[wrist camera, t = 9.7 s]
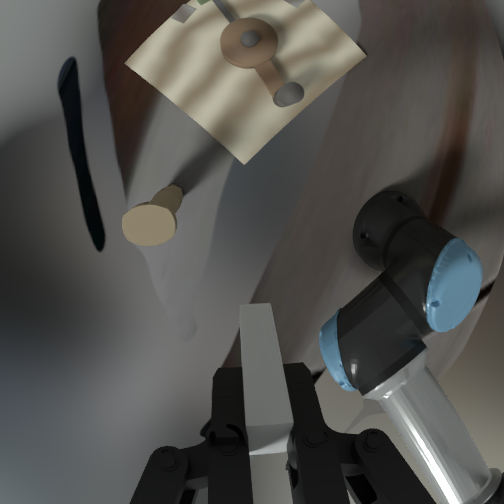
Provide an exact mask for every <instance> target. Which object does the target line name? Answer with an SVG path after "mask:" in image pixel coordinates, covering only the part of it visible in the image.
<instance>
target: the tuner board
mask: <svg viewBox="0 0 504 504" xmlns="http://www.w3.org/2000/svg"><path fill="white" fill-rule="evenodd" d="M221 2H222V3H223V4H224V6H225V7H226V8H227V9H228V11H229V12H230V13H231V15H232V16H233V17H234V19H235V20H237V19H241V18H257V19H260V20H263V21H265V22H267V23H268V24H270V25H271V26H272V27H273V29H274V30H275V31H276V33H277V36H278V47H277V50H276V52H275V53H274V55H273V57H272V58H271V59H270V61H271V62H272V64H273V65H274V67H275V69H276V70H277V72H278V73H279V75H280V77H281V78H282V80H283V82H284V83H285V84H286V83H288V82H296V83H298V84H300V85H301V86H302V87H303V89H304V98H303V99H302V100H301V101H300V102H298V103H295V104H292V105H290V106H287V107H278V106H276V105H275V104H274V102H273V98H272V96H271V94H270V93H269V91H268V89H267V88H266V86H265V85H264V83H263V81H262V80H261V78H260V77H259V75H258V73H257V72H256V70H255V69H254V68H253V69H244V68H239V67H237V66H234V65H232V64H231V63H229V62H228V61H227V60H226V59H225V57H224V56H223V54H222V51H221V45H220V37H221V34H222V32H223V30H224V28H225V27H226V26H227V25H228V24H230V23H229V22H228V20H227V19H226V18H225V16H224V15H223V14H222V12H221V11H220V10H219V9H218V7H217V6H216V5H215V3H214V2H213V1H212V0H191V1H189V2H188V3H187V4H186V5H185V4H183V5H182V6H181V7H180V8H179V9H178V10H177V12H176V13H175V14H174V15H173V16H171V17H170V18H169V19H168V20H167V21H166V22H165V23H164V24H162V25H161V26H160V27H159V28H158V29H157V30H156V31H155V32H154V33H153V34H152V35H151V36H150V37H149V38H148V39H147V40H146V41H145V42H144V43H143V44H142V45H141V46H140V47H139V48H138V49H137V50H136V51H135V53H134V54H133V55H132V56H131V57H130V58H129V59H128V60H127V61H126V63H125V64H126V65H127V66H129V67H130V68H131V69H132V70H134V71H135V72H136V73H138V74H139V75H140V76H141V77H143V78H144V79H145V80H147V81H148V82H149V83H150V84H152V85H153V86H154V87H155V88H157V89H158V90H159V91H160V92H162V93H163V94H164V95H165V96H166V97H168V98H169V99H170V100H171V101H172V102H174V103H175V104H176V105H177V106H178V107H180V108H181V109H182V110H183V111H184V112H186V113H187V114H188V115H189V116H190V117H191V118H193V119H194V120H195V121H196V122H197V123H198V124H199V125H201V126H202V127H203V128H204V129H205V130H206V131H207V132H209V133H210V134H211V135H212V136H213V137H214V138H215V139H216V140H218V141H219V142H220V143H221V144H222V145H223V146H224V147H225V148H226V149H228V150H229V151H230V152H231V153H232V154H233V155H234V156H235V157H236V158H237V159H238V160H240V161H241V162H242V163H243V164H244V165H245V164H246V163H247V162H248V161H249V160H250V159H251V158H252V157H253V156H254V155H255V154H256V153H257V152H258V151H259V150H260V149H261V148H262V147H263V146H264V145H265V144H266V143H267V142H268V141H269V140H270V139H272V137H274V136H275V135H276V134H277V133H278V132H279V131H280V130H281V129H282V128H283V127H284V126H285V125H286V124H288V122H290V121H291V120H292V119H293V118H294V117H295V116H296V115H297V114H299V112H301V111H302V110H303V109H304V108H305V107H306V106H307V105H308V104H310V103H311V102H312V101H313V100H314V99H315V98H316V97H318V96H319V95H320V94H321V93H322V92H323V91H325V90H326V89H327V88H328V87H329V86H331V85H332V84H333V83H334V82H335V81H337V80H338V79H339V78H340V77H341V76H343V75H344V74H345V73H346V72H348V71H349V70H350V69H351V68H352V67H354V66H355V65H356V64H357V63H359V62H360V61H361V60H363V59H364V58H365V57H366V55H365V53H364V52H363V51H362V50H361V49H360V48H359V47H358V46H357V45H356V43H355V42H354V41H352V39H351V38H350V37H349V36H348V35H347V34H346V33H345V32H344V31H343V30H342V29H341V28H340V27H339V26H338V25H337V24H336V23H335V22H334V21H333V20H332V19H331V18H330V17H328V16H327V15H326V14H325V13H324V12H323V11H322V10H321V9H319V8H318V7H317V6H316V5H315V4H314V3H313V2H311V1H310V0H221Z"/></svg>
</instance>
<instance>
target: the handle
mask: <svg viewBox="0 0 504 504" xmlns="http://www.w3.org/2000/svg"><path fill="white" fill-rule="evenodd" d="M182 199H183V195H182V188H181V187H177V186H175V184H171V185H169V186H167V187H165V188H163V189H161V190H160V191H159V192H158V193H157V194H156V195H155V196H154V197H153V199H152V200H151V201H150V202H145V203H141V204H138V205H136V206H135V207H133V208H132V209H131V210H129V211H128V212H127V213H125V214H124V216H123V219H122V228H123V232H124V234H125V236H126V238H127V239H128V240H129V241H130V242H132V243H135V244H138V245H141V246H154V245H160V244H162V243H164V242H166V241H168V240H169V239H171V238H172V237H173V236H174V234H175V232H176V228H177V219H176V215H175V213H176V212H177V210H178V209H179V207H180V205H181V202H182Z"/></svg>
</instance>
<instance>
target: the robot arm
mask: <svg viewBox="0 0 504 504" xmlns="http://www.w3.org/2000/svg"><path fill="white" fill-rule="evenodd" d="M353 243H354V246H355V249H356V251H357V253H358V255H359V256H360V257H361V258H362V259H363V261H364V262H365V263H366V264H368V265H369V266H371V267H372V268H375V269H377V270H380V271H383V272H382V273H381V274H380V275H379V276H378V277H377V278H376V279H375V280H374V281H372V282H371V283H370V284H369V285H368V286H367V287H366V288H365V289H364V290H362V291H361V292H360V293H359V294H358V295H357V296H356V297H355V298H353V299H352V300H351V301H350V302H349V303H348V304H346V305H345V306H344V307H343V308H340V309H339V310H338V311H337V312H336V314H335V315H334V316H333V317H332V318H330V319H329V320H328V321H327V322H326V323H325V324H324V325H323V326H322V328H321V330H320V335H319V345H320V350H321V353H322V356H323V359H324V362H325V364H326V366H327V368H328V370H329V372H330V374H331V375H332V377H333V378H334V380H335V381H336V382H339V384H340V386H341V387H342V388H343V389H345V390H347V391H355V390H357V389H358V390H359V391H360V393H361V395H362V396H363V397H364V398H368V399H375V400H377V401H379V403H380V404H381V406H382V407H383V409H384V411H385V412H386V414H387V415H388V417H389V418H390V420H391V422H392V423H393V425H394V426H395V428H396V429H397V431H398V433H399V434H400V436H401V437H402V439H403V441H404V442H405V444H406V445H407V447H408V449H409V450H410V452H411V453H412V455H413V457H414V458H415V460H416V462H417V463H418V465H419V466H420V468H421V470H422V471H423V473H424V475H425V476H426V478H427V480H428V481H429V483H430V485H431V486H432V488H433V490H434V491H435V493H436V495H437V497H438V498H439V500H440V502H441V504H504V472H503V473H502V474H501V471H500V470H499V469H497V468H489V469H488V468H487V466H486V464H485V462H484V460H483V458H482V456H481V454H480V452H479V450H478V448H477V446H476V445H475V443H474V441H473V439H472V437H471V436H470V434H469V432H468V430H467V428H466V427H465V425H464V423H463V422H462V420H461V418H460V417H459V415H458V413H457V412H456V410H455V408H454V407H453V405H452V403H451V402H450V400H449V399H448V397H447V395H446V394H445V392H444V391H443V389H442V388H441V386H440V385H439V383H438V381H437V380H436V378H435V377H434V375H433V374H432V372H431V371H430V369H429V368H428V367H427V364H426V358H427V352H428V348H427V346H426V345H425V344H424V342H423V341H422V338H423V337H424V336H425V335H426V334H427V333H428V332H429V331H430V330H432V329H433V330H436V331H438V332H446V331H449V329H450V328H451V329H452V328H454V327H456V326H457V325H458V324H459V323H460V322H462V320H463V319H464V318H465V317H466V316H467V315H468V313H469V312H470V310H471V309H472V307H473V305H474V303H475V301H476V299H477V297H478V294H479V291H480V287H481V284H482V277H483V270H482V264H481V261H480V258H479V256H478V255H477V254H476V252H475V251H473V250H472V249H471V248H470V247H469V246H467V245H466V243H465V242H464V241H463V240H462V239H460V238H457V237H456V236H454V235H453V234H451V233H450V232H448V231H446V230H445V229H443V228H442V227H440V226H439V225H437V224H435V223H434V222H432V221H430V220H429V219H427V217H426V216H425V214H424V213H423V211H422V210H421V208H420V207H419V205H418V204H417V203H416V202H415V201H414V200H413V199H412V198H410V197H409V196H407V195H405V194H403V193H400V192H397V191H387V192H383V193H380V194H378V195H376V196H374V197H373V198H371V199H370V200H369V201H368V202H367V203H366V204H365V205H364V206H363V208H362V209H361V210H360V212H359V214H358V216H357V218H356V221H355V224H354V228H353ZM239 307H240V332H241V354H242V367H236V368H218V369H217V371H216V373H215V375H214V376H213V390H212V415H211V426H210V428H209V429H208V430H207V432H206V436H205V438H206V440H205V441H204V442H202V443H201V444H198V445H196V446H192V447H188V448H184V449H178V448H176V447H172V446H165V447H160V448H158V449H156V450H155V451H154V452H153V453H152V455H151V456H150V458H149V460H148V463H147V465H146V467H145V470H144V472H143V474H142V476H141V479H140V481H139V483H138V486H137V488H136V490H135V492H134V495H133V497H132V499H131V502H130V504H195V501H196V498H197V495H198V492H199V489H202V488H206V487H208V504H253V494H252V482H251V470H250V457H249V455H255V454H269V453H279V452H286V450H287V453H288V461H287V464H286V470H288V473H289V479H290V485H291V492H292V499H293V504H350V501H349V496H348V492H347V490H348V491H349V493H350V495H351V496H352V498H353V500H354V502H355V503H356V504H436V502H435V501H434V500H433V498H432V497H431V495H430V494H429V493H428V491H427V490H426V488H425V487H424V486H423V485H422V483H421V482H420V480H419V479H418V477H417V476H416V475H415V474H414V472H413V470H412V469H411V468H410V466H409V465H408V464H407V462H406V461H405V459H404V458H403V457H402V455H401V454H400V452H399V451H398V450H397V448H396V447H395V445H394V444H393V443H392V441H391V440H390V439H389V437H388V436H387V435H386V434H385V433H384V432H383V431H381V430H379V429H367V430H364V431H362V432H361V433H360V434H347V433H339V432H336V431H334V430H332V429H331V428H329V427H328V426H327V425H326V423H325V422H324V419H323V416H322V412H321V408H320V404H319V401H318V397H317V394H316V391H315V386H314V383H313V379H312V376H311V372H310V370H309V369H308V368H307V367H306V365H305V364H304V363H303V362H301V363H291V364H282V359H281V354H280V349H279V344H278V339H277V334H276V329H275V324H274V319H273V314H272V309H271V304H270V303H265V304H241V305H239Z"/></svg>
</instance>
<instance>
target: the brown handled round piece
mask: <svg viewBox="0 0 504 504" xmlns="http://www.w3.org/2000/svg"><path fill="white" fill-rule="evenodd" d="M212 1H213V2H214V3H215V5H216V6H217V7H218V9H219V10H220V11H221V12H222V14H223V15H224V16H225V18H226V19H227V20H228V22H229V23H230V24H228V25H227V26H226V27H225V28H224V30H223V32H222V34H221V37H220V45H221V51H222V54H223V56H224V57H225V59H226V60H227V61H228V62H229V63H231V64H232V65H234V66H237V67H239V68H244V69H253V68H254V69H255V70H256V72H257V73H258V75H259V77H260V78H261V80H262V81H263V83H264V85H265V86H266V88H267V89H268V91H269V93H270V94H271V96H272V98H273V102H274V104H275V105H276V106H278V107H287V106H290V105H292V104H295V103H298V102H300V101H301V100H302V99H303V98H304V89H303V87H302V86H301V85H300V84H298V83H296V82H288V83H286V84H285V83H284V82H283V80H282V78H281V77H280V75H279V73H278V72H277V70H276V69H275V67H274V65H273V64H272V62H271V61H270V59H271V58H272V57H273V55H274V53H275V52H276V50H277V47H278V36H277V33H276V31H275V30H274V29H273V27H272V26H271V25H270V24H268V23H267V22H265V21H263V20H260V19H257V18H241V19H237V20H235V19H234V17H233V16H232V15H231V13H230V12H229V11H228V9H227V8H226V7H225V6H224V4H223V3H222V2H221V0H212Z"/></svg>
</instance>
